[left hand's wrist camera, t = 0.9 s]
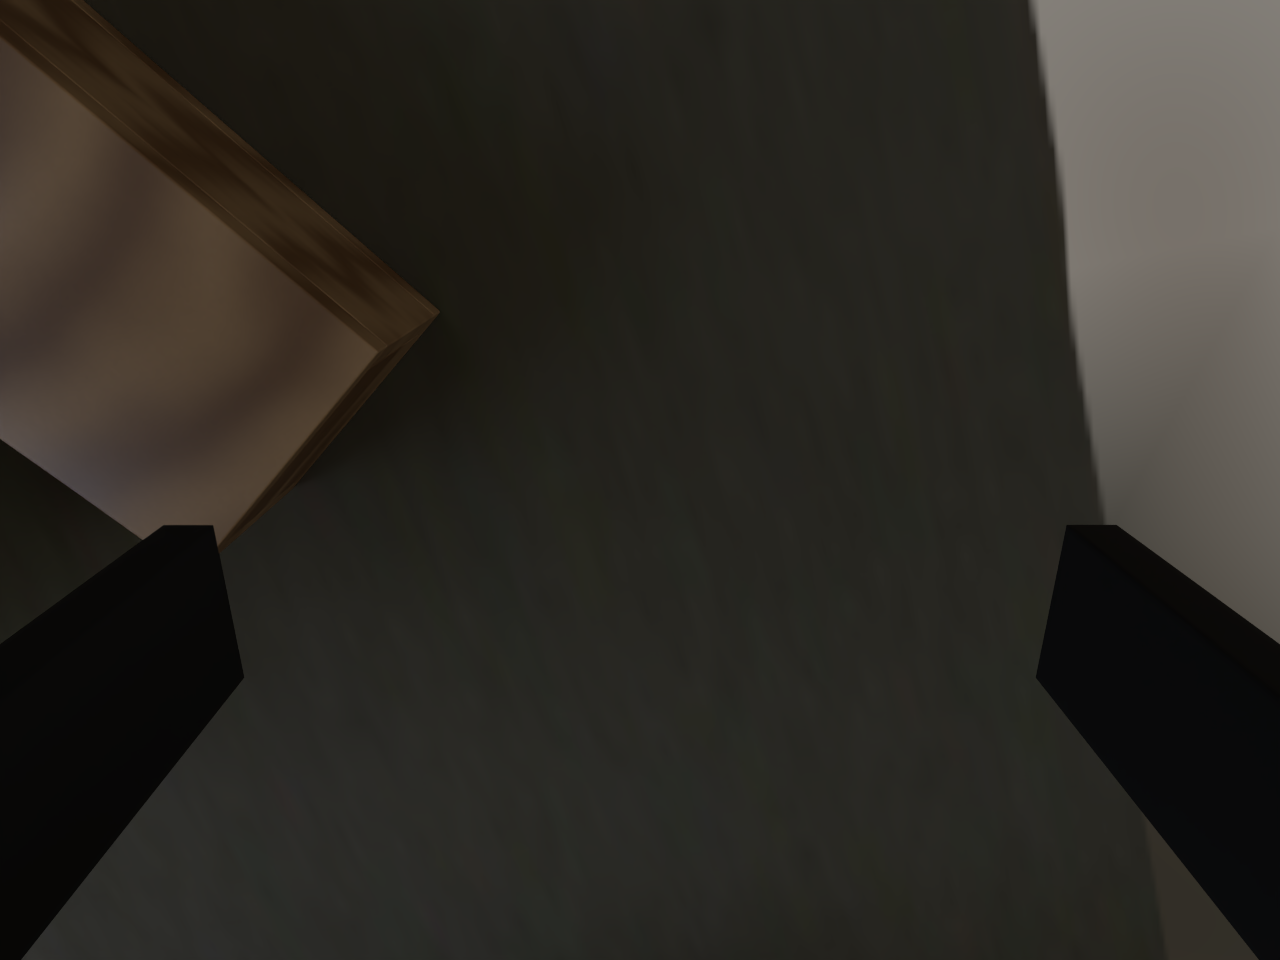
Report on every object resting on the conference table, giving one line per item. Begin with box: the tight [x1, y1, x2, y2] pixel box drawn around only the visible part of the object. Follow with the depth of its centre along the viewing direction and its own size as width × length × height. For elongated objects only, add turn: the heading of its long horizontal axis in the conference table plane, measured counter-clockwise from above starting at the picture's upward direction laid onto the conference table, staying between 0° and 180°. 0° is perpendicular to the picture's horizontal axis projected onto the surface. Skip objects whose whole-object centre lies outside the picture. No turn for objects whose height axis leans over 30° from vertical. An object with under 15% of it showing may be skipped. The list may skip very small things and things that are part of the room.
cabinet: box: [0, 0, 440, 553], centre depth 30 cm, size 18×11×9 cm, turn 47°
